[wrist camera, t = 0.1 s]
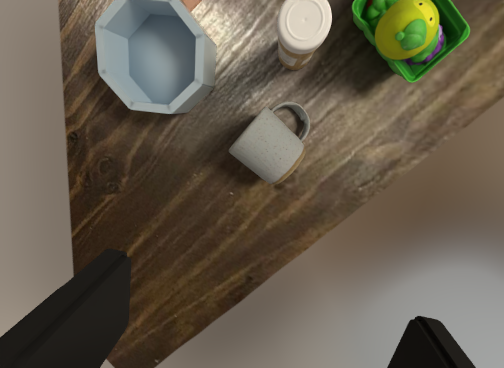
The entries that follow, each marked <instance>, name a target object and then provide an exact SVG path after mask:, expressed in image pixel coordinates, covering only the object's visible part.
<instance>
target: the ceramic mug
mask: <svg viewBox="0 0 504 368" xmlns="http://www.w3.org/2000/svg"><path fill="white" fill-rule="evenodd" d="M285 106H287V107H290V108H292V109H293V110H294V111H295V112H296V113H297V114H298V116H299V117H300V120H301V121H303V123H304V129H303V132H302V135H301V136H300V138H298V137H297V136H296V135H295V134H294V133H293V132H292V131H290V130H289V129H288V128H287V127H286V126H285V124H284V123H283V122H282V121H281V120H280V119H279V118H278V117H277V116H276V115H275V114H274V113H273V112H274V111H275V110H277V109H279V108H281V107H285ZM309 129H310V120H309V116H308V114H307V112H306V111H305V110H304V108H303V107H302V106H300V105H299V104H298V103H296V102H283V103H280V104H278V105H276V106H275V107H274V108H273V109H271V110H270V109H269V108H268V107H264V108H263V109H262V111H261V112H260V113H259V114H258V115H257V116H256V117H255V119H254V120H253V121H252V122H251V123H250V124H249V126H248V127H247V128H246V129H245V130H244V132H243V133H242V134H241V135H240V136H239V138H238V139H237V140H236V141H235V142H234V144H233V145H232V146H231V147H230V149H229V153H230V154H232V155H233V156H234V157H236V158H237V159H238V160H239V161H241V162H242V163H243V164H244V165H246V166H247V167H248V168H249V169H251V170H252V171H253V172H255V173H256V174H257V175H258V176H259V177H261V178H262V179H263V180H265V181H267V182H268V183H270V184H278V183H281V182H282V181H284V180H285V179H286V178H287V177H288V176H289V175H290V174H291V173H292V172H293V171H294V170H295V169H296V168H297V166H298V165H299V164H300V162H301V161H302V159H303V157H304V155H305V147H304V145H303V143H302V141H303V140H304V139H305V137H306V136H307V134H308V132H309Z"/></svg>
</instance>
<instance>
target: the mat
mask: <svg viewBox="0 0 504 368" xmlns="http://www.w3.org/2000/svg"><path fill="white" fill-rule="evenodd" d="M182 1H183V2H184V4H185V5H186V6H187V8H188V9H189V10H190V11H192V10H193V9H194V8H195V7H196V6H197V5H198V4H199V3H200V2H201V1H202V0H182Z"/></svg>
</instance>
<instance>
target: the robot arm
mask: <svg viewBox="0 0 504 368" xmlns="http://www.w3.org/2000/svg"><path fill="white" fill-rule="evenodd" d="M130 279H131V258H129V257H127V253H126V252H123V251H118V250H114V249H106V250H105V251H104V252H102V253H101V254H100V255H99V256H98V257H97V258H95V259H94V260H93V261H92V262H91V263H89V264H88V265H87V266H86V267H85V268H84V269H82V270H81V271H80V272H79V273H78V274H76V275H75V276H74V277H73V278H72V279H71V280H69V281H68V282H67V283H66V284H65V285H63V286H62V287H60V288H59V289H57V290H56V291H55V292H54V293H53V294H51V295H50V296H49V297H48V298H47V299H45V300H44V301H43V302H42V303H41V304H40V305H38V306H37V307H36V308H35V309H34V310H32V311H31V312H30V313H29V314H28V315H26V316H25V317H24V318H23V319H22V320H20V321H19V322H18V323H17V324H16V325H15V326H13V327H12V328H11V329H10V330H9V331H8V332H6V333H5V334H4V335H3V336H1V337H0V368H100V367H101V365H102V364H103V362H104V361H105V359H106V358H107V356H108V355H109V353H110V352H111V350H112V349H113V347H114V346H115V344H116V343H117V342H118V340H119V339H120V337H121V336H122V334H123V333H124V331H125V329H126V327H127V324H128V321H129V302H130ZM387 368H476V367H475V366H474V365H473V363H472V362H471V361H470V359H469V358H468V357H467V355H466V354H465V353H464V352H463V350H462V349H461V348H460V346H459V345H458V344H457V342H456V341H455V340H454V338H453V337H452V336H451V334H450V333H449V332H448V330H447V329H446V328H445V326H444V325H443V324H442V323H441V322H440V321H438V320H436V319H432V318H427V317H422V316H417V317H415V319H414V320H410V322H409V323H408V325H407V328H406V330H405V332H404V334H403V336H402V338H401V340H400V342H399V344H398V346H397V348H396V351H395V353H394V355H393V357H392V359H391V361H390V363H389V365H388V367H387Z"/></svg>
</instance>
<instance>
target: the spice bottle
mask: <svg viewBox="0 0 504 368" xmlns="http://www.w3.org/2000/svg"><path fill="white" fill-rule="evenodd" d="M331 23H332V12H331V8H330V5H329V3H328V1H327V0H285V2H284V3H283V5H282V6H281V8H280V11H279V14H278V20H277V33H278V57H279V60H280V62H281V64H282V65H283V66H284V67H286V68H288V69H290V70H298V69H301V68H303V67H304V66H305V65H306V64H307V63H308V62H309V60H310V58H311V57H312V55H313V54H314V52H315V50H316V49H317V48H318V47H319V46H320V45H321V44H322V43H323V41H324V40H325V38H326V36H327V35H328V33H329V30H330V27H331Z"/></svg>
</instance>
